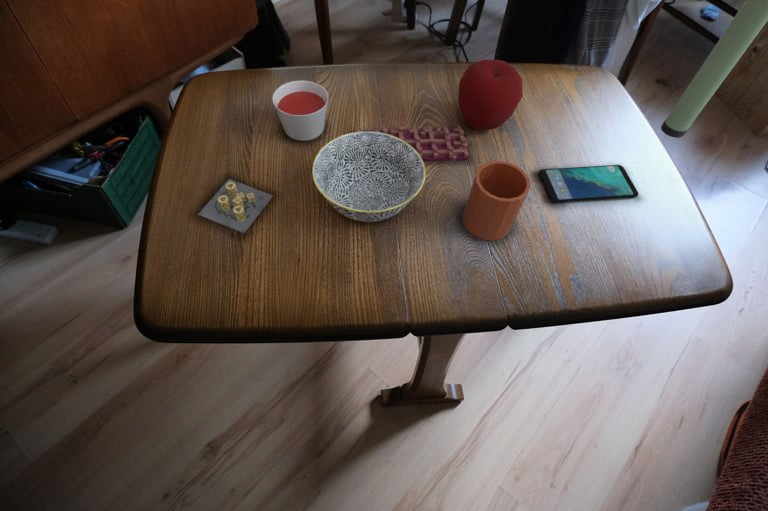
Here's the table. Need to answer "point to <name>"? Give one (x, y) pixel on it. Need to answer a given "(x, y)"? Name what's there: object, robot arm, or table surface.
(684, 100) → the green long cylinder
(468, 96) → the apple
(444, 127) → the chocolate bar
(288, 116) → the candle
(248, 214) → the gold tube cluster
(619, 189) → the smartphone
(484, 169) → the pen cup
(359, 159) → the bowl
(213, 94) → the table surface
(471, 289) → the table surface
